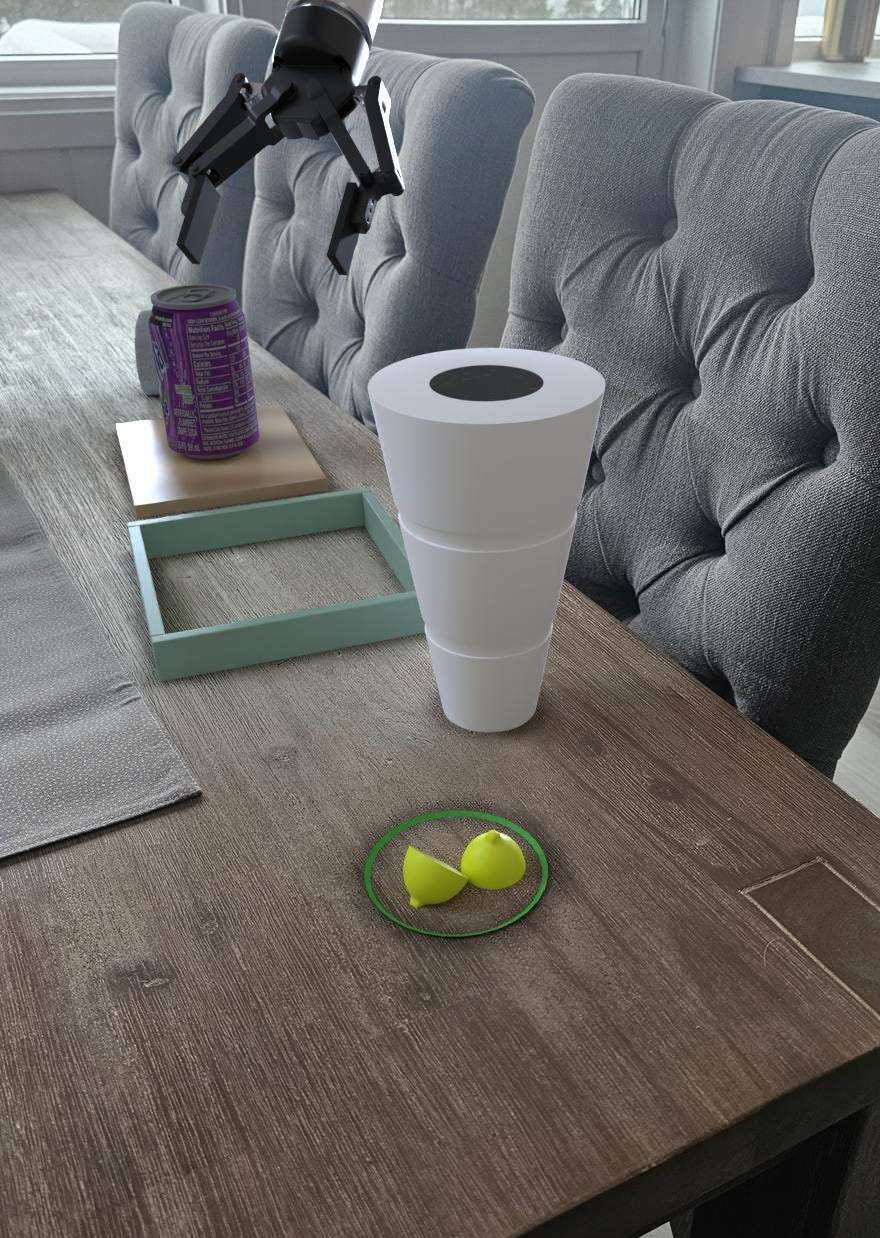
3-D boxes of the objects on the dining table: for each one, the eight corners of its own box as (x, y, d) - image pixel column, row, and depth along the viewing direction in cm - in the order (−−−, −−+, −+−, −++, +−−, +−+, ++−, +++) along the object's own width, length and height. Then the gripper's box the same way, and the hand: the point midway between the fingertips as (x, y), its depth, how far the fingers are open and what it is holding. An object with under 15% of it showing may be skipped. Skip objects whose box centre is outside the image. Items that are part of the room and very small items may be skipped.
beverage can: (192, 430, 93) (169, 280, 86) (273, 435, 91) (256, 284, 85) (154, 462, 87) (126, 303, 80) (240, 468, 85) (219, 308, 79)
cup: (365, 684, 63) (339, 364, 53) (539, 645, 66) (544, 337, 56) (429, 794, 54) (412, 438, 45) (625, 744, 58) (648, 402, 48)
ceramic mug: (232, 405, 102) (221, 319, 98) (141, 407, 102) (126, 321, 98) (247, 371, 111) (237, 291, 107) (163, 373, 111) (150, 293, 107)
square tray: (160, 689, 62) (151, 643, 61) (134, 562, 76) (126, 522, 74) (444, 635, 67) (443, 591, 65) (372, 525, 80) (369, 486, 79)
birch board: (328, 496, 85) (327, 478, 84) (138, 525, 81) (134, 505, 80) (282, 419, 99) (280, 403, 98) (118, 440, 95) (115, 423, 94)
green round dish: (465, 978, 44) (463, 926, 43) (326, 887, 49) (321, 838, 47) (584, 871, 50) (586, 822, 48) (449, 798, 54) (448, 751, 52)
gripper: (477, 71, 94) (417, 296, 91) (218, 66, 102) (152, 275, 98) (453, -1, 87) (387, 241, 84) (177, 0, 95) (104, 223, 91)
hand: (260, 260), depth 91 cm, fingers open, 13 cm apart
